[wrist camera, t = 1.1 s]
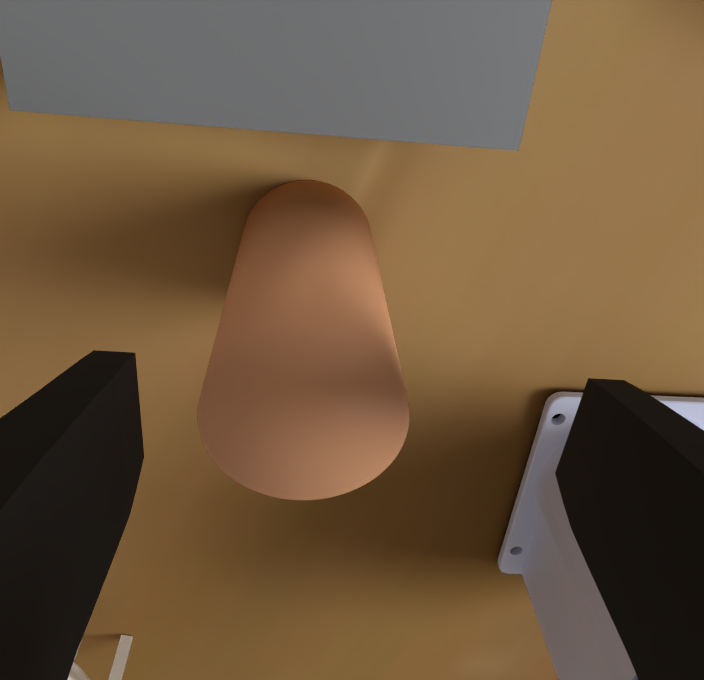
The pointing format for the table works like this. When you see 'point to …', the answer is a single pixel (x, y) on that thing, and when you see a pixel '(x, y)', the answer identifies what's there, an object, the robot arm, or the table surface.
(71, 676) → the decorative heart
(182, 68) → the socket board
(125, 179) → the table surface
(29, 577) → the robot arm
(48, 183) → the table surface
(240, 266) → the peg
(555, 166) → the table surface
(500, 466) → the table surface
